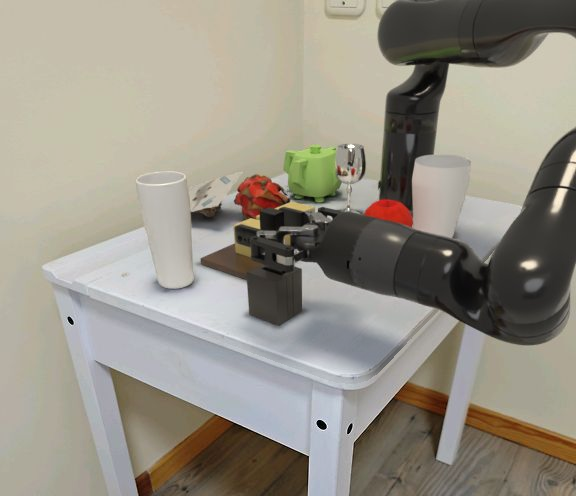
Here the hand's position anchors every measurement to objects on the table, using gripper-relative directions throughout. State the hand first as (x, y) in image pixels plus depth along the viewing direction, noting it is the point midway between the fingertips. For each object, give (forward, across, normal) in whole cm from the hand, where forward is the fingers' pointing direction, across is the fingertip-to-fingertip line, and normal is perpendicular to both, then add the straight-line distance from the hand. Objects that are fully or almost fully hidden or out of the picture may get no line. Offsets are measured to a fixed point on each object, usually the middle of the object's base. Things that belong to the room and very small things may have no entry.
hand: (259, 224), depth 69 cm
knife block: (-2, 0, +12) cm, 12 cm away
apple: (-1, -28, +12) cm, 31 cm away
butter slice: (+12, -12, +10) cm, 20 cm away
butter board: (+12, -15, +12) cm, 23 cm away
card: (+32, -24, +12) cm, 41 cm away
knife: (-2, 0, +12) cm, 12 cm away
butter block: (+12, -20, +10) cm, 25 cm away
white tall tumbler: (+16, +2, +12) cm, 20 cm away
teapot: (+24, -44, +12) cm, 51 cm away
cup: (-5, -38, +12) cm, 40 cm away
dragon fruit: (+23, -26, +12) cm, 37 cm away
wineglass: (+12, -38, +12) cm, 42 cm away
